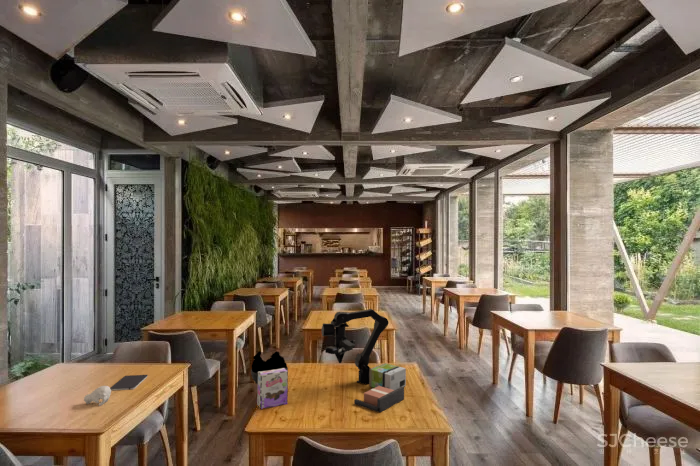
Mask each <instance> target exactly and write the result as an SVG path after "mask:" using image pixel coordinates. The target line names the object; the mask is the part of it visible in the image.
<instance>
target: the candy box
mask: <svg viewBox="0 0 700 466" xmlns="http://www.w3.org/2000/svg"><path fill="white" fill-rule="evenodd" d="M288 371H289V370H288ZM288 371H287V370H286V369H285V368H281V369H275V370H268V371H261V372H258V385H257V395H256V396H257V399H256V402H257V403H256V405H257V406H259V405H260V406H259V407H260V408H261V409H260V408H259V407H258V408H259V409H260V410H262V409H263V408H265V409H268V408H275V407H279V406H286V405H288V401H289V400H288V398H289V397H288V395H289V393H288V392H289V388H288V387H289V383H288V382H289V379H288V378H289V374H288V373H289V372H288ZM263 410H264V409H263Z"/></svg>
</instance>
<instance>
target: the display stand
mask: <svg viewBox="0 0 700 466" xmlns="http://www.w3.org/2000/svg"><path fill="white" fill-rule="evenodd" d="M403 400H405V386H404V387H400V388H398V389H396V390H394V391H392V392H390V393H388V394H386V395H384V396H382V397H380V398H378V399H377V406H376V405H373V404H370V403H367V402H364V400H360V399H357V398H355V399H354V401H353V402H354V405H356V406H359V407H361V408H365V409H368V410H370V411H374V412H376V413H378V414H381V413H383V412H384V411H385V410H388V409H389V408H391V407H393V406H395V405H396V404H398V403H400V402H402V401H403Z"/></svg>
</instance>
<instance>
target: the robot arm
mask: <svg viewBox="0 0 700 466" xmlns="http://www.w3.org/2000/svg"><path fill="white" fill-rule="evenodd" d="M363 318H364V319H365V318H371V319H372V320H374V322H373V323H374V324H373V329H372V332H371V334H370V336H369V338H368V340H367V342H366V344H365V346H364V348H363V350H362V351H361V352H360V353H359V352H357V354H356V357H355V358H354V365H355V366H356V367H357V369H358V380H356V383H359V384H362V385H369V369H371V368H372V367H370V366H369V364H370V357H371V354H372V351H373V349H374V348H375V346H376V344H377V342H378V339H379V337H380V335H381V334H382V333H383V332H384V331H385V330H386V329H387V327H388V326H389V319H388V318H386V317H384V316H383V315H380V314H379V313H377V312H376V311H375V309H373V308H368V309H364V310H357V311H352V312H348V311H337V312H336V313H335V314H334V316H333V318H332V319H331V321H330V323H325V322H323V323H322V326H321V330H320V331H321V336H322V337H331V336H333V340H334V343H333V346H332V345H330V346H327V347H325V348H324V349H325V350H324V351H325V354H329V355H330V354H331V355H334V356H335V357H336V359H337V362H338V363H339V364H342V361H343V359H344V356H345V354H346V353H347V352H350V351H353V349H354V348H355V346H356V340H354V339H351V340H349V339H348V336H346V328H349V327H350V326H349V324H348V322H350V321H353V320H359V319H363ZM334 335H335V336H334Z"/></svg>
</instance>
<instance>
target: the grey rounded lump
mask: <svg viewBox="0 0 700 466" xmlns="http://www.w3.org/2000/svg"><path fill="white" fill-rule="evenodd" d="M110 388H111V387H110V386H108V385H101V386H99V387H97V388H95V389H94V390H92V392H90V393H89V394H86V395H85V396H84V397H83V401H84V402H85V404H86V405H87V406H88V404H91V403H92V402H94V403H96V404H98V406H99V407H100V406H103V405H104V404H105V403H107V402H108V401H109V400H110V396H111V393H112V390H110ZM100 400H102V401H100Z"/></svg>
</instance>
